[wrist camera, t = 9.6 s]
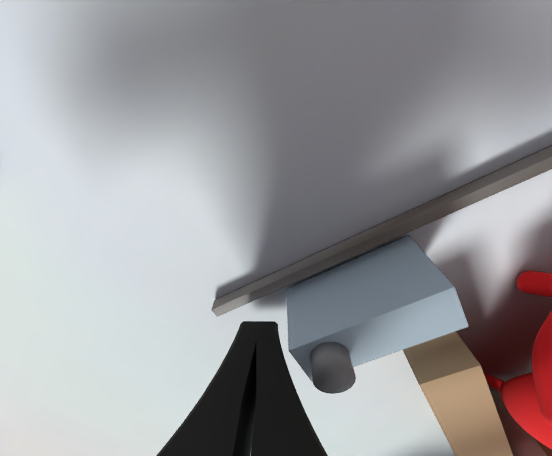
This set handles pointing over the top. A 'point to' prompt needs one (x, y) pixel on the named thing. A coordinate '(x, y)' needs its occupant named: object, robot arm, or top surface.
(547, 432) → the cap
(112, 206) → the top surface
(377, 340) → the pale blue-grey box
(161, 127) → the top surface
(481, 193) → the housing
